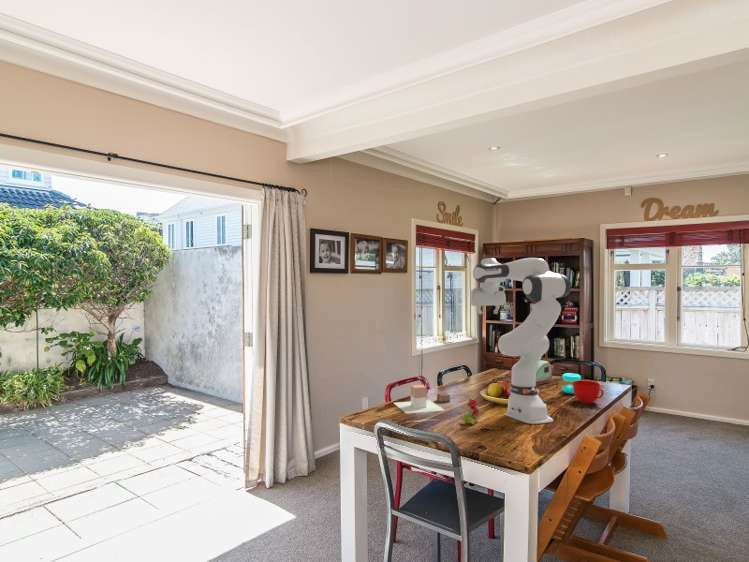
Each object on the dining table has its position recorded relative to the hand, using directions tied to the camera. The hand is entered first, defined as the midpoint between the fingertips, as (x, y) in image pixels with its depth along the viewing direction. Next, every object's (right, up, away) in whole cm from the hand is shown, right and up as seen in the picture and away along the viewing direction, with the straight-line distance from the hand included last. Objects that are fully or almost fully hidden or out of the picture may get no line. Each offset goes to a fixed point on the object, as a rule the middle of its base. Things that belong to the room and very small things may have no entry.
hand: (488, 314), depth 258 cm
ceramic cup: (+51, -46, -8) cm, 69 cm away
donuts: (+51, -46, +16) cm, 71 cm away
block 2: (-39, -45, -20) cm, 63 cm away
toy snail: (+43, -46, +41) cm, 75 cm away
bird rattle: (-17, -46, -42) cm, 65 cm away
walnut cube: (-25, -46, -9) cm, 53 cm away
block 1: (-39, -40, -20) cm, 59 cm away
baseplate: (-39, -46, -20) cm, 63 cm away
